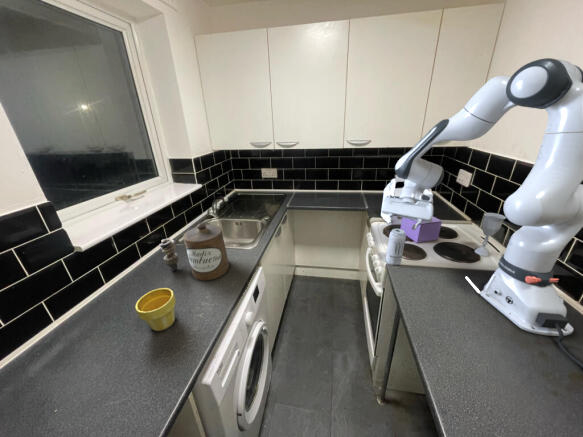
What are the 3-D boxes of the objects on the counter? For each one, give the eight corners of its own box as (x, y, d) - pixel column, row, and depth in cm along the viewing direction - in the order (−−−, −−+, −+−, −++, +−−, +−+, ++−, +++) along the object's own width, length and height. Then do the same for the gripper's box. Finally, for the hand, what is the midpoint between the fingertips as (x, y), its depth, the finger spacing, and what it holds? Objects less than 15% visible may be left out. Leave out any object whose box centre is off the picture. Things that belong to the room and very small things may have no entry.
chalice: (485, 248, 106) (498, 212, 98) (495, 257, 99) (510, 219, 92) (468, 248, 106) (479, 212, 99) (477, 256, 100) (490, 219, 93)
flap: (442, 221, 111) (442, 220, 111) (420, 224, 109) (420, 223, 108) (431, 216, 116) (432, 216, 116) (411, 219, 114) (411, 218, 114)
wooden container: (187, 282, 91) (174, 233, 82) (199, 260, 105) (188, 216, 96) (225, 279, 92) (215, 230, 83) (231, 258, 106) (224, 214, 97)
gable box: (415, 214, 144) (424, 169, 132) (427, 223, 132) (438, 175, 120) (380, 215, 143) (386, 171, 132) (389, 224, 131) (396, 176, 120)
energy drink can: (389, 266, 96) (394, 235, 90) (383, 258, 101) (387, 228, 95) (403, 265, 96) (409, 234, 90) (396, 257, 102) (401, 227, 96)
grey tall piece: (169, 267, 101) (160, 237, 95) (182, 265, 102) (174, 235, 96) (166, 275, 96) (156, 244, 90) (180, 272, 97) (171, 241, 91)
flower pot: (140, 324, 73) (130, 300, 69) (172, 305, 80) (165, 283, 76) (151, 343, 67) (141, 318, 63) (186, 320, 74) (179, 297, 70)
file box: (437, 239, 115) (442, 220, 111) (416, 242, 113) (420, 223, 108) (419, 228, 126) (422, 211, 122) (399, 231, 124) (402, 213, 120)
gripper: (385, 191, 104) (376, 218, 101) (437, 198, 93) (429, 229, 90) (386, 197, 109) (378, 223, 106) (436, 205, 98) (428, 234, 95)
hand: (401, 226), depth 98 cm, fingers open, 8 cm apart
